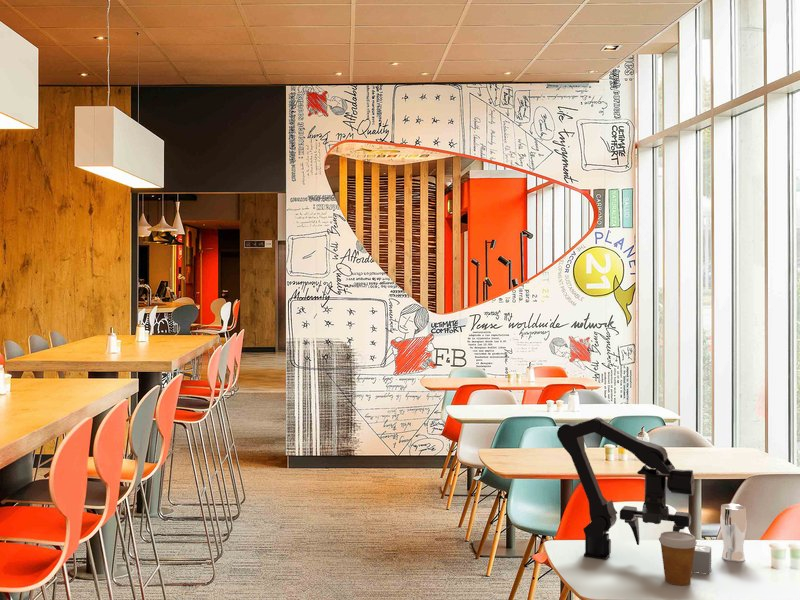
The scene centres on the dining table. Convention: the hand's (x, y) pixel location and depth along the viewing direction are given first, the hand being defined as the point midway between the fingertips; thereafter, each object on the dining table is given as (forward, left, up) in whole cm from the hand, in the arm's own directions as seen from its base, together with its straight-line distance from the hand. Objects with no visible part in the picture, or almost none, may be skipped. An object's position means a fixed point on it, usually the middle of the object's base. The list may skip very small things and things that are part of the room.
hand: (654, 546), depth 232 cm
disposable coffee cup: (+8, -13, -5) cm, 16 cm away
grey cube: (+12, 0, -5) cm, 13 cm away
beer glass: (+20, +15, -5) cm, 25 cm away
